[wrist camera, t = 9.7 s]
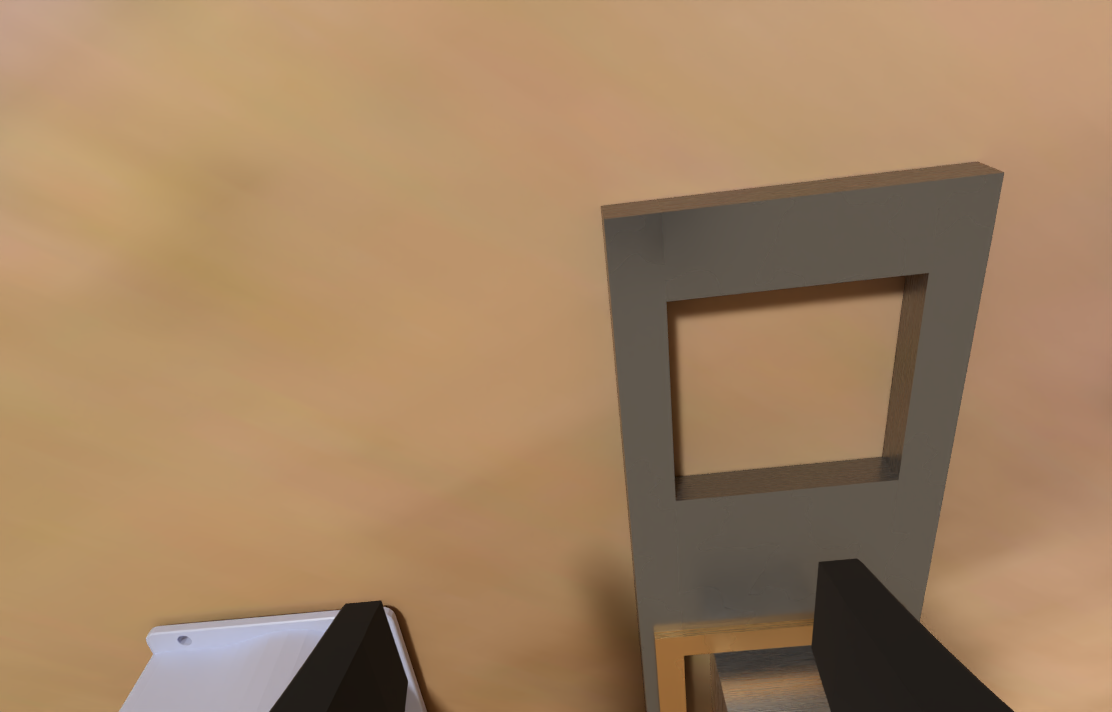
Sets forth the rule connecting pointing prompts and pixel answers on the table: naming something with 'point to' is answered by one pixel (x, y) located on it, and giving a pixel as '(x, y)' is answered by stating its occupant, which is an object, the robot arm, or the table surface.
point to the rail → (802, 490)
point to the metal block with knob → (767, 681)
